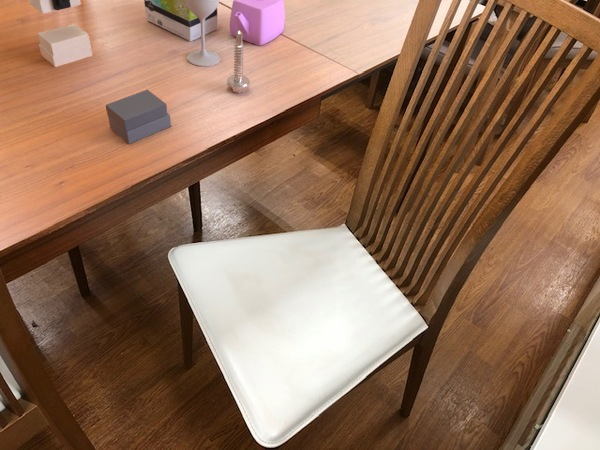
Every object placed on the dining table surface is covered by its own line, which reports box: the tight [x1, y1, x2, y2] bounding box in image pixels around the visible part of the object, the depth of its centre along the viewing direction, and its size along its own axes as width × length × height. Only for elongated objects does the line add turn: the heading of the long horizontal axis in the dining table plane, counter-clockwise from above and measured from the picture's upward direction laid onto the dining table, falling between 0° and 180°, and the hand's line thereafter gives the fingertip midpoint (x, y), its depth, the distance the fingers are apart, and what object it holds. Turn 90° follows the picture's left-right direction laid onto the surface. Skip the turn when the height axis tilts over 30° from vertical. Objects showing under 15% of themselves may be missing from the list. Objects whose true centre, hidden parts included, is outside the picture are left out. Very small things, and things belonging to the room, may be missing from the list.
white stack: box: [37, 23, 94, 68], centre depth 108 cm, size 8×6×5 cm
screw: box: [226, 30, 251, 94], centre depth 102 cm, size 13×5×5 cm
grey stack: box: [105, 89, 172, 145], centre depth 93 cm, size 9×6×5 cm
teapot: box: [229, 0, 286, 46], centre depth 122 cm, size 18×10×10 cm, turn 150°
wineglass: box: [184, 0, 221, 68], centre depth 107 cm, size 8×8×21 cm
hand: (54, 1), depth 101 cm, fingers closed on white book, 5 cm apart
